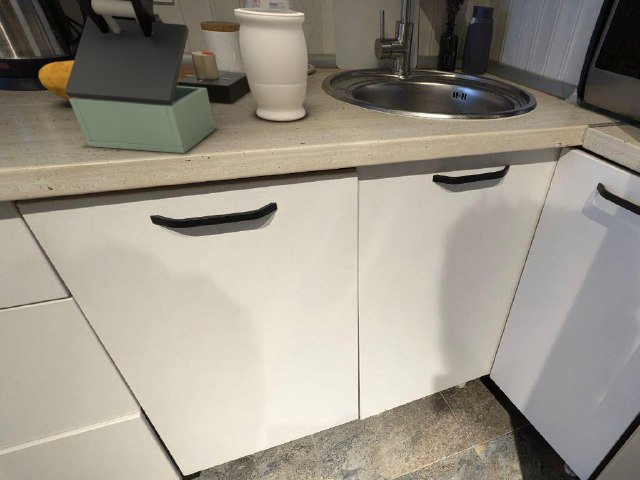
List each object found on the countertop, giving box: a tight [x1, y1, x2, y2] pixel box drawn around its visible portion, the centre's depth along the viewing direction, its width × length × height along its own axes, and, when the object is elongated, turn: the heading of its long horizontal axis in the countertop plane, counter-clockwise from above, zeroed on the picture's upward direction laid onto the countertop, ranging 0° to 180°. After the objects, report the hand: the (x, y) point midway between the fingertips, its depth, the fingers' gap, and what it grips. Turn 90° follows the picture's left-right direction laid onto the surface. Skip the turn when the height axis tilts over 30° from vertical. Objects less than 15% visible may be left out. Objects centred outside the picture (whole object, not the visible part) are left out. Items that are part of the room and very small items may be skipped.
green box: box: [68, 85, 216, 154], centre depth 55 cm, size 11×13×6 cm
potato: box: [38, 60, 74, 101], centre depth 65 cm, size 8×14×7 cm, turn 108°
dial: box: [190, 50, 219, 80], centre depth 74 cm, size 4×4×4 cm
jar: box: [234, 7, 309, 122], centre depth 65 cm, size 11×10×15 cm
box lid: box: [65, 0, 190, 105], centre depth 48 cm, size 12×13×5 cm
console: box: [177, 70, 251, 104], centre depth 77 cm, size 12×10×3 cm
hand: (127, 34), depth 49 cm, fingers closed on box lid, 5 cm apart
